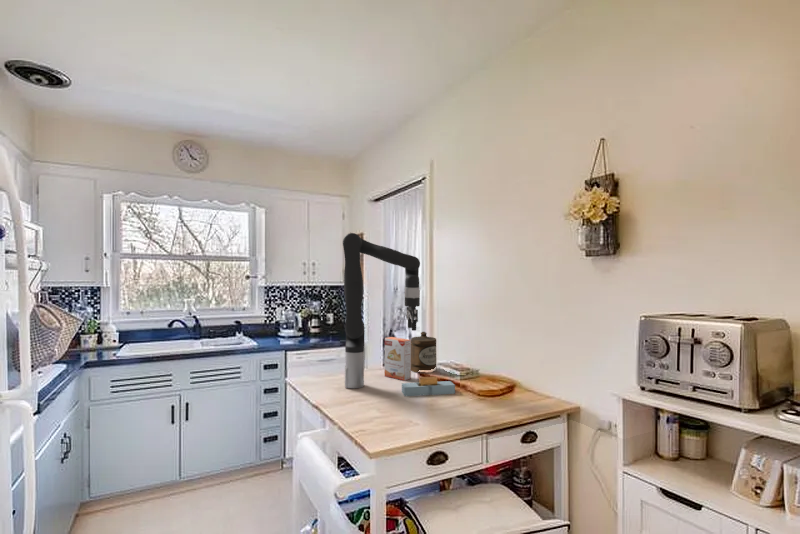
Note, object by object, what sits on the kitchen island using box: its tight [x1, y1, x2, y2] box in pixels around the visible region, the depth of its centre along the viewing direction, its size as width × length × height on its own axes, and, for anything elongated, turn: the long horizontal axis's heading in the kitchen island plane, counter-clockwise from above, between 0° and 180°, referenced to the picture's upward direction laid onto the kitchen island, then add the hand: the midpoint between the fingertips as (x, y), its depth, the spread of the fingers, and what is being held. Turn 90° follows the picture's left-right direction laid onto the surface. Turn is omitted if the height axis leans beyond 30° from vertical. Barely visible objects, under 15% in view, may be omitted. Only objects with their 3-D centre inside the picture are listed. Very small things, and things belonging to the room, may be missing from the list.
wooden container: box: [410, 331, 437, 373], centre depth 243 cm, size 15×15×22 cm
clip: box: [418, 376, 438, 386], centre depth 199 cm, size 8×3×6 cm, turn 102°
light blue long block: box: [401, 380, 456, 397], centre depth 199 cm, size 24×7×4 cm, turn 102°
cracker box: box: [384, 336, 412, 381], centre depth 226 cm, size 14×6×21 cm, turn 50°
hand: (411, 329), depth 211 cm, fingers open, 8 cm apart
